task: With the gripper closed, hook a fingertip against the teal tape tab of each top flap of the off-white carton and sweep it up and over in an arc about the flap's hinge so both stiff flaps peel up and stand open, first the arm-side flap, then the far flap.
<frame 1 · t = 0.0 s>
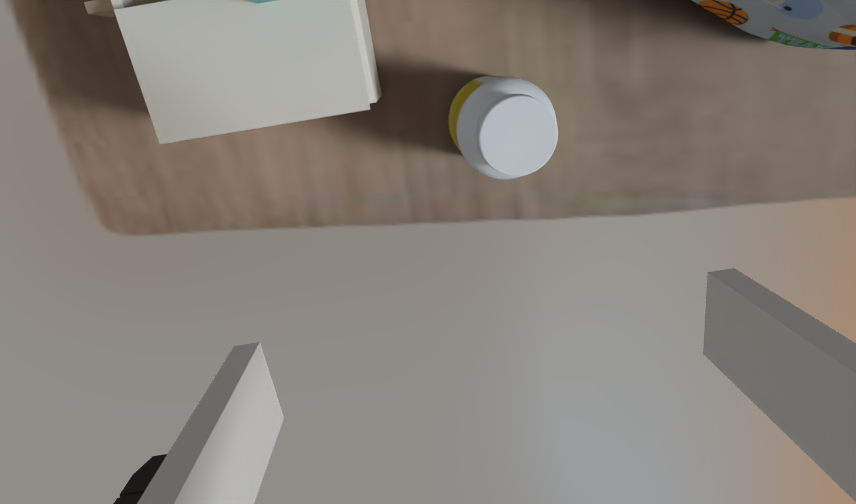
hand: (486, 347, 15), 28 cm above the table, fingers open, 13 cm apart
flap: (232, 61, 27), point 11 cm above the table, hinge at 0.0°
pill bottle: (487, 117, 40), on the table
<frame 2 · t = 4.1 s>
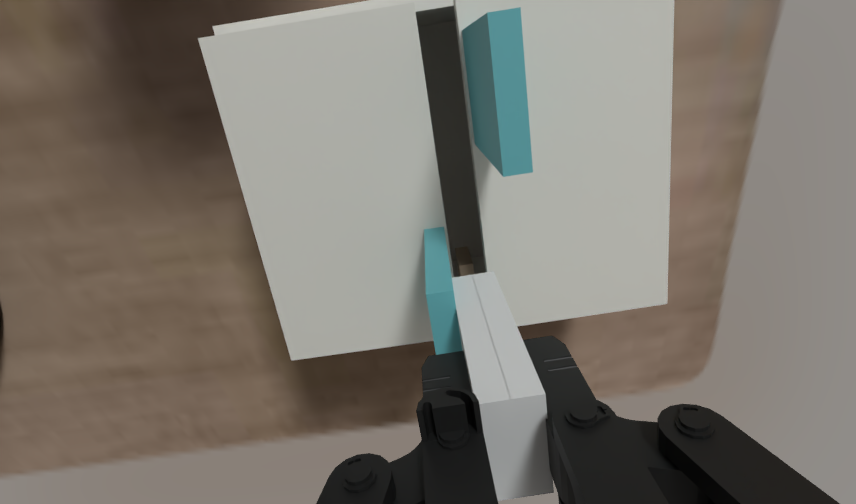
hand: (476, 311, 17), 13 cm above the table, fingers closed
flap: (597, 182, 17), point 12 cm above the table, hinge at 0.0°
carton: (443, 150, 28), on the table
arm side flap: (333, 224, 17), point 12 cm above the table, hinge at 1.3°, touching gripper
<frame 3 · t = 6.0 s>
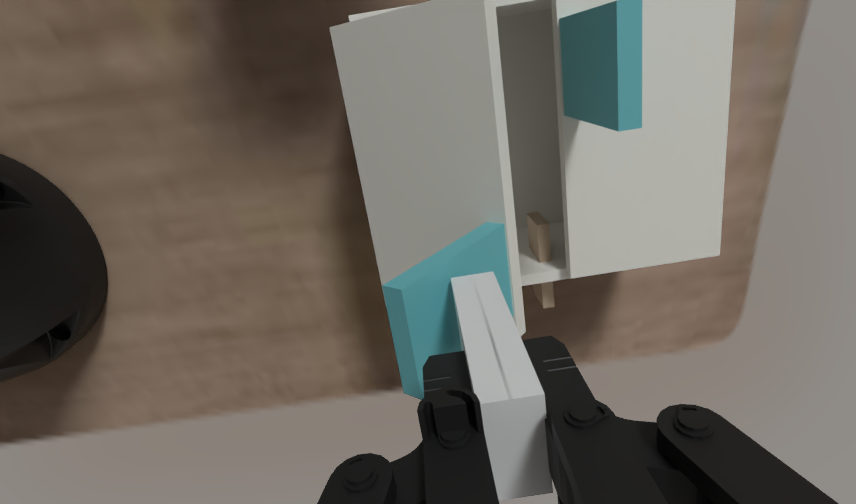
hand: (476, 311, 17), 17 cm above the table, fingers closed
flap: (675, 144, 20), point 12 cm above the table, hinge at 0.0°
carton: (510, 129, 31), on the table
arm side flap: (380, 201, 19), point 13 cm above the table, hinge at 41.0°, touching gripper
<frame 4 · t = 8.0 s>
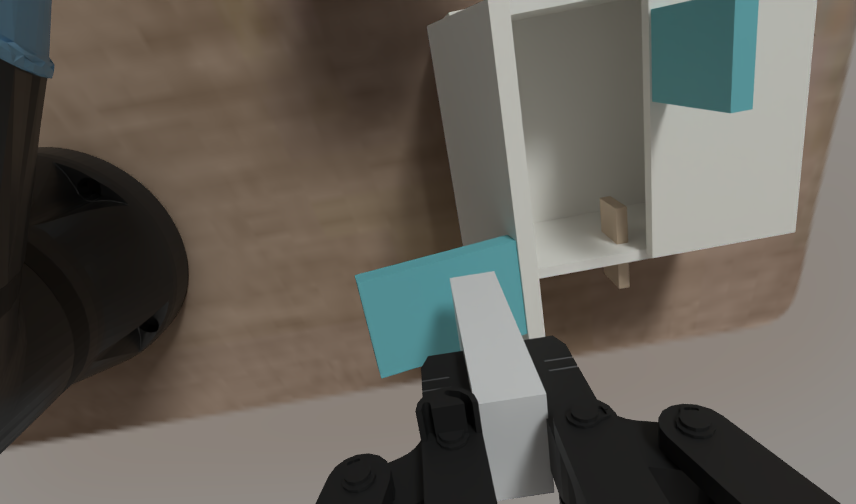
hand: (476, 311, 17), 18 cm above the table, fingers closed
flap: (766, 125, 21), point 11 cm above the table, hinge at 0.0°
carton: (576, 117, 32), on the table
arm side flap: (416, 197, 21), point 13 cm above the table, hinge at 78.0°
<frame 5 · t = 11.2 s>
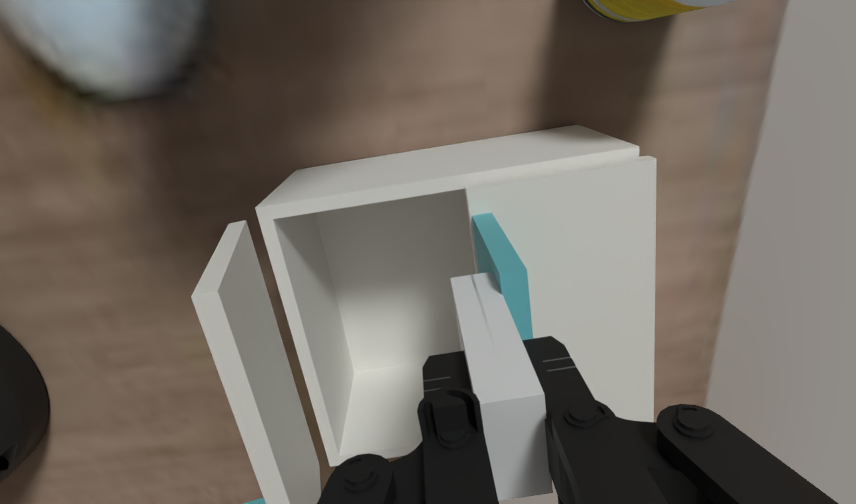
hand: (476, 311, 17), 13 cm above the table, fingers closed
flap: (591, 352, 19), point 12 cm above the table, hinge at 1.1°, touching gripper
carton: (452, 261, 30), on the table
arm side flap: (194, 428, 19), point 13 cm above the table, hinge at 78.1°
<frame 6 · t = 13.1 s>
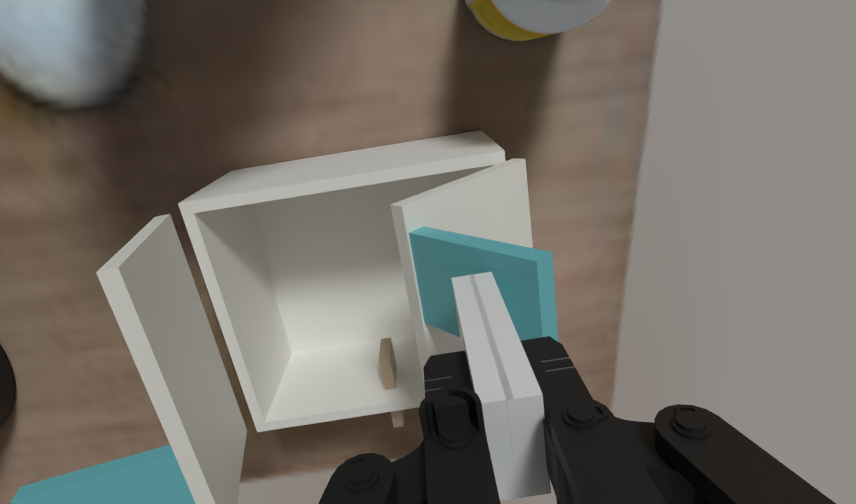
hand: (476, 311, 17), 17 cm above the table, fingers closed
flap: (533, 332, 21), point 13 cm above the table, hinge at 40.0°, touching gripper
carton: (376, 252, 34), on the table
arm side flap: (121, 389, 22), point 13 cm above the table, hinge at 78.1°
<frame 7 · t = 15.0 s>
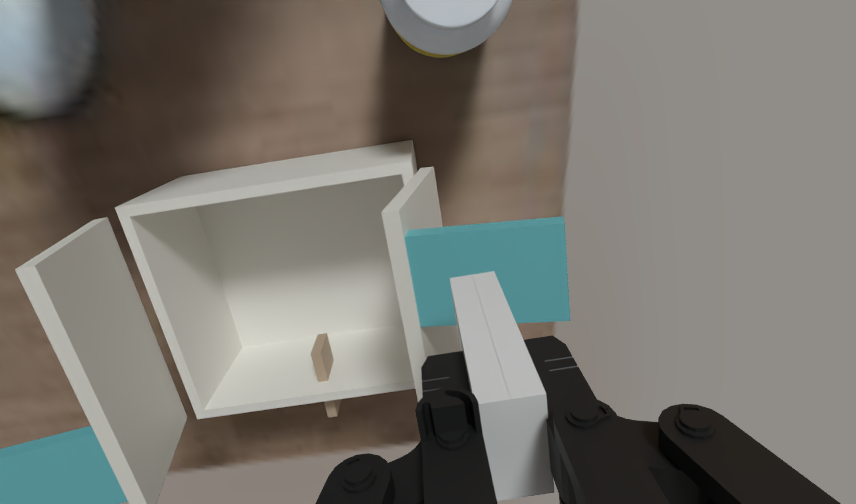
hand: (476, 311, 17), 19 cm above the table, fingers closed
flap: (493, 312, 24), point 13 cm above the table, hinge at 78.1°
pill bottle: (439, 1, 31), on the table
carton: (319, 253, 36), on the table
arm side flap: (57, 376, 25), point 13 cm above the table, hinge at 78.1°
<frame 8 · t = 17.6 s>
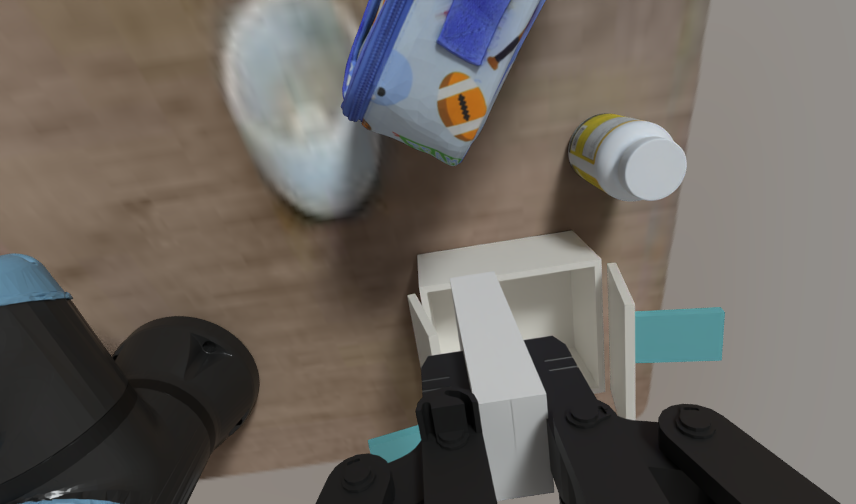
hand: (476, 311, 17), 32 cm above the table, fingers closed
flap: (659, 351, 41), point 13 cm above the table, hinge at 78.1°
pill bottle: (598, 146, 48), on the table
carton: (501, 303, 53), on the table
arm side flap: (399, 391, 41), point 13 cm above the table, hinge at 78.1°
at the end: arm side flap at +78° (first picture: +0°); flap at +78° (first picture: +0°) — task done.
